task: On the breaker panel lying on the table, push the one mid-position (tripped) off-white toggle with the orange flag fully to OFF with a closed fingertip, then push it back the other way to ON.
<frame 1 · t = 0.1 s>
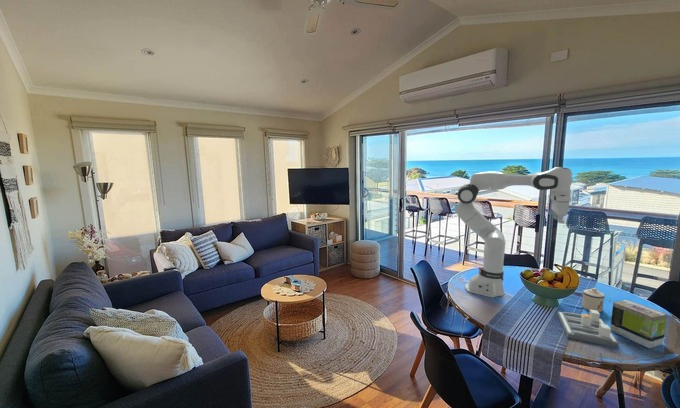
hand: (557, 220, 163), 48 cm above the table, fingers open, 8 cm apart
tea box: (635, 337, 135), on the table
panel: (584, 329, 142), on the table
teacup with lid: (592, 307, 162), on the table
tripped breaker: (585, 320, 141), point 5 cm above the table, slide at 0.0 cm
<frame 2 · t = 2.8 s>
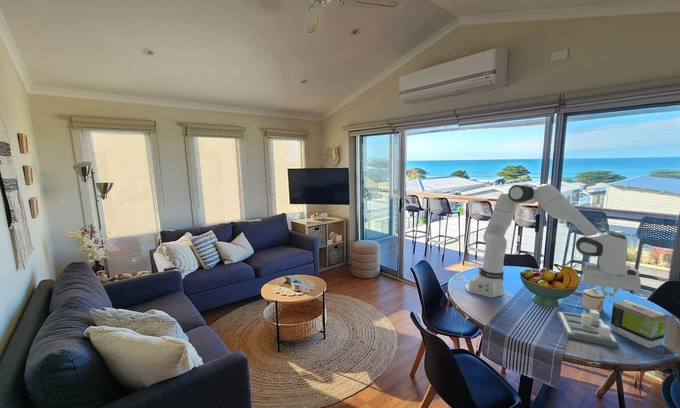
hand: (608, 295, 136), 19 cm above the table, fingers closed
nothing on the table moved.
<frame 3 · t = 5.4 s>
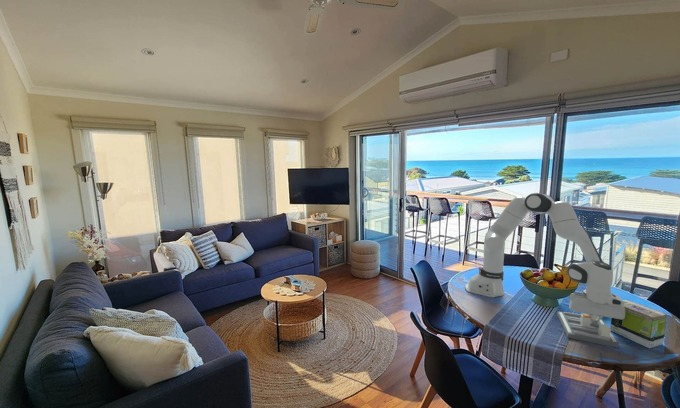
hand: (594, 322, 140), 4 cm above the table, fingers closed
tripped breaker: (585, 320, 141), point 5 cm above the table, slide at -0.2 cm, touching gripper
everything else where it was.
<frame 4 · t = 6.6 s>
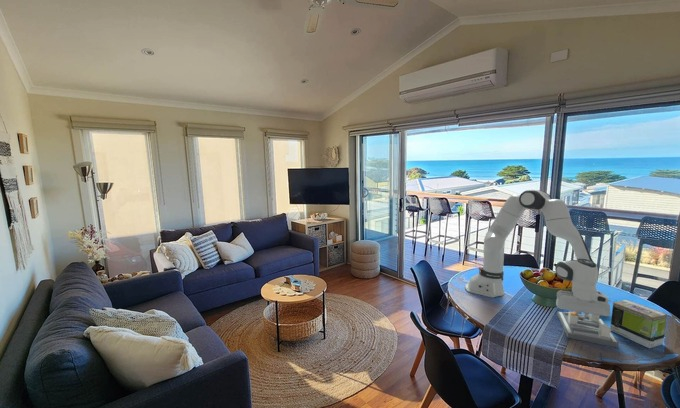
hand: (580, 319, 142), 5 cm above the table, fingers closed
tripped breaker: (572, 318, 144), point 5 cm above the table, slide at -5.1 cm, touching gripper
everything else where it was.
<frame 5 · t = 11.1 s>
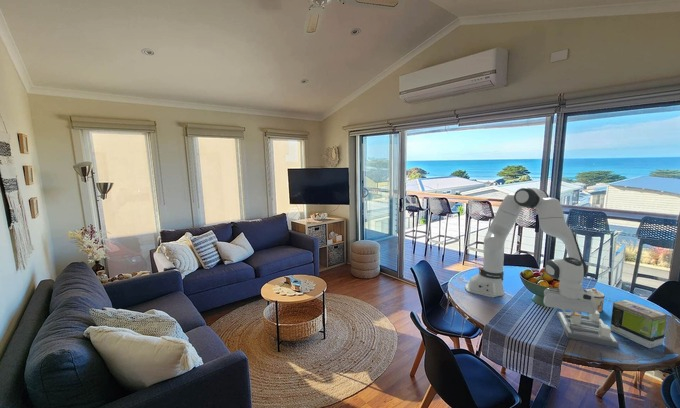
hand: (567, 317, 144), 5 cm above the table, fingers closed
tripped breaker: (575, 318, 143), point 5 cm above the table, slide at -3.9 cm, touching gripper
everything else where it was.
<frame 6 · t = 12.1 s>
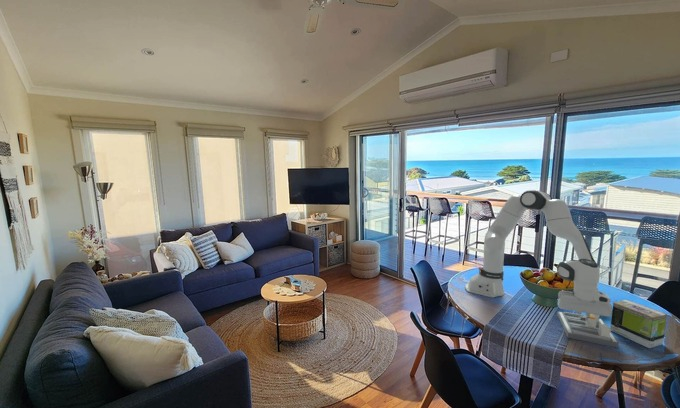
hand: (582, 320, 142), 5 cm above the table, fingers closed
tripped breaker: (590, 321, 140), point 5 cm above the table, slide at 1.9 cm, touching gripper
everything else where it was.
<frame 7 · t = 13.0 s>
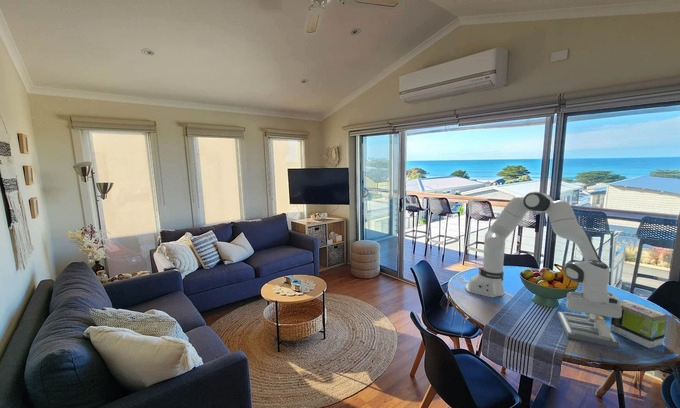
hand: (591, 321, 140), 5 cm above the table, fingers closed
tripped breaker: (599, 323, 139), point 5 cm above the table, slide at 5.1 cm, touching gripper
everything else where it was.
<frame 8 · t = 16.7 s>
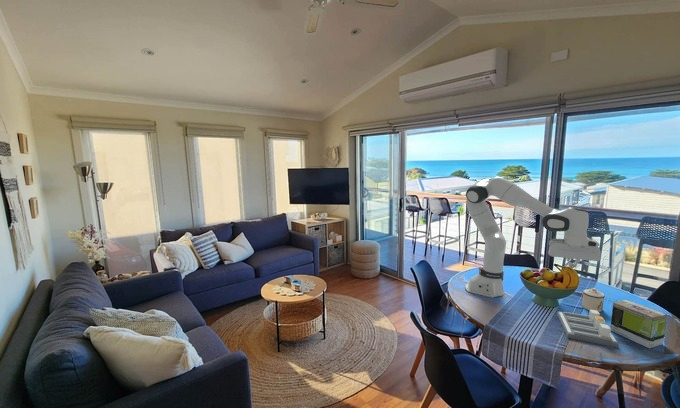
hand: (572, 266, 145), 29 cm above the table, fingers closed
tripped breaker: (599, 323, 139), point 5 cm above the table, slide at 5.0 cm
everything else where it was.
at the end: tripped breaker slide at 5.0 cm; tripped breaker 0.0 cm from the target spot on the panel, point 4.7 cm above the panel's base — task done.
